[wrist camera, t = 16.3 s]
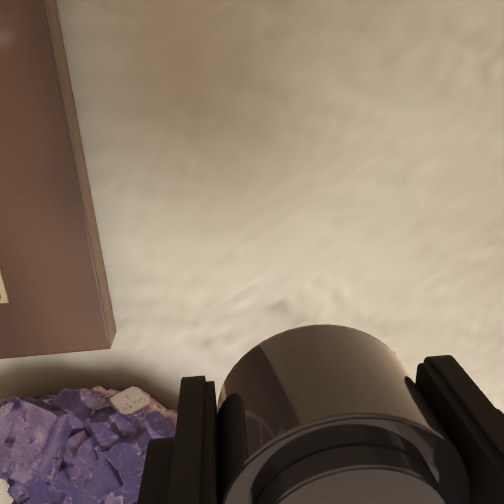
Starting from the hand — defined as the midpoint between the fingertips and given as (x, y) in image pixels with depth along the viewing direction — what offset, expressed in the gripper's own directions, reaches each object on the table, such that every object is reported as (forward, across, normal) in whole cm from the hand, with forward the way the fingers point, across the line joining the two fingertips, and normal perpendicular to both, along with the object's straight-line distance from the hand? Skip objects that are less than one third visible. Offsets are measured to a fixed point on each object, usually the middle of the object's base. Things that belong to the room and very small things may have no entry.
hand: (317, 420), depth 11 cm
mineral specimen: (+12, +9, +13) cm, 19 cm away
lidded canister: (0, 0, 0) cm, 0 cm away
